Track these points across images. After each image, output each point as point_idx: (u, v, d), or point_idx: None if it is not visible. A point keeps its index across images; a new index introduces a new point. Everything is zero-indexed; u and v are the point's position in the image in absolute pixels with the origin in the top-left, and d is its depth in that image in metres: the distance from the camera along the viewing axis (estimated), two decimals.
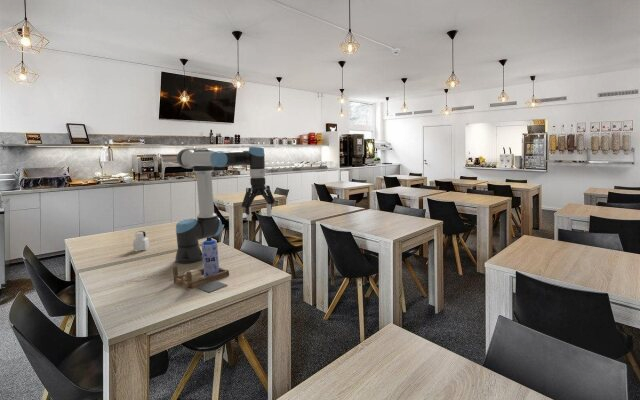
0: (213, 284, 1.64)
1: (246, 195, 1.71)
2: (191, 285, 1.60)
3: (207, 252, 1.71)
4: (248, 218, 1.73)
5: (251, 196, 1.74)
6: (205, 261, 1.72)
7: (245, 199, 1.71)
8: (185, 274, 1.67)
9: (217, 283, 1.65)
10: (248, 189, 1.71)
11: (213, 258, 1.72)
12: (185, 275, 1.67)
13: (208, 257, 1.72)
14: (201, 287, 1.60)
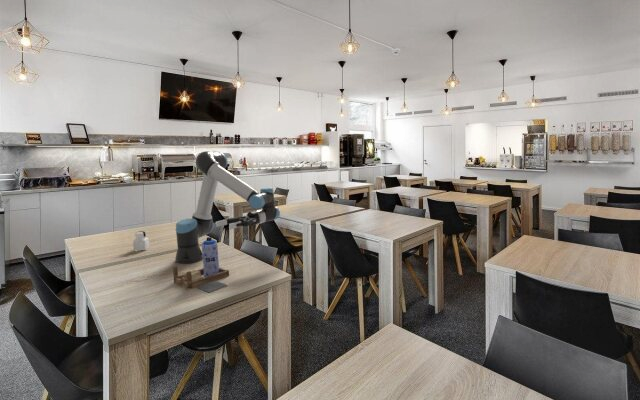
0: (213, 284, 1.64)
1: (251, 221, 1.84)
2: (191, 285, 1.60)
3: (207, 252, 1.71)
4: (232, 226, 1.76)
5: (246, 221, 1.86)
6: (205, 261, 1.72)
7: (250, 223, 1.82)
8: (184, 274, 1.67)
9: (217, 283, 1.65)
10: (255, 221, 1.87)
11: (213, 258, 1.72)
12: (184, 275, 1.67)
13: (208, 257, 1.72)
14: (201, 287, 1.60)
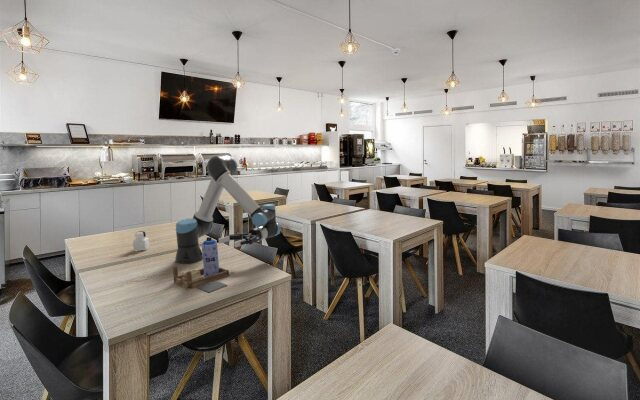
0: (213, 284, 1.64)
1: (255, 239, 1.87)
2: (191, 285, 1.60)
3: (207, 252, 1.71)
4: (236, 244, 1.78)
5: (250, 238, 1.88)
6: (205, 261, 1.72)
7: (253, 240, 1.85)
8: (184, 274, 1.67)
9: (217, 283, 1.65)
10: (258, 238, 1.90)
11: (213, 258, 1.72)
12: (184, 275, 1.67)
13: (208, 257, 1.72)
14: (201, 287, 1.60)
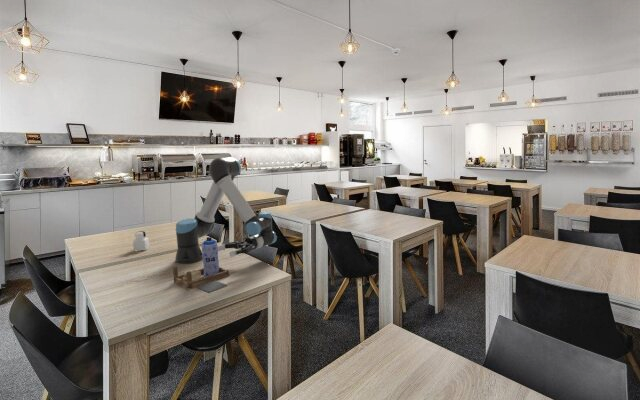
0: (213, 284, 1.64)
1: (250, 248, 1.85)
2: (191, 285, 1.60)
3: (207, 252, 1.71)
4: (232, 253, 1.76)
5: (245, 247, 1.86)
6: (205, 261, 1.72)
7: (249, 249, 1.83)
8: (184, 274, 1.67)
9: (217, 283, 1.65)
10: (253, 247, 1.88)
11: (213, 258, 1.72)
12: (185, 275, 1.67)
13: (208, 257, 1.72)
14: (201, 287, 1.60)
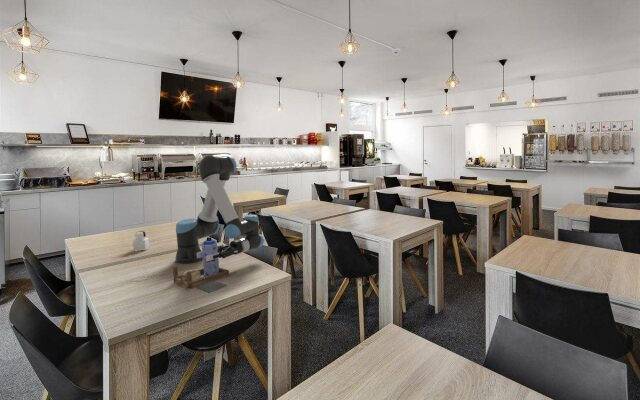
0: (213, 284, 1.64)
1: (231, 252, 1.77)
2: (191, 285, 1.60)
3: (207, 252, 1.71)
4: (208, 258, 1.69)
5: (227, 251, 1.79)
6: (205, 261, 1.72)
7: (228, 254, 1.75)
8: (184, 275, 1.66)
9: (217, 283, 1.65)
10: (236, 252, 1.80)
11: None
12: (184, 275, 1.66)
13: None
14: (201, 287, 1.60)
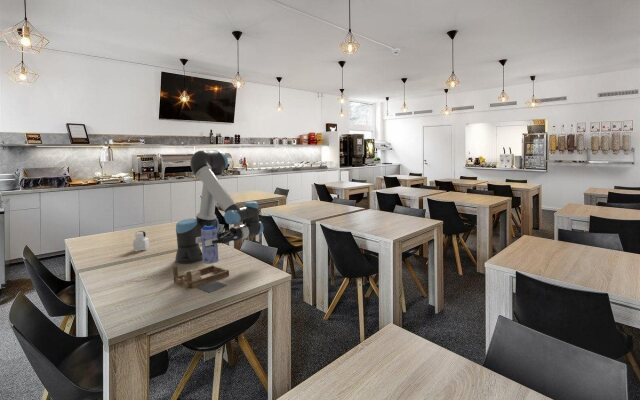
0: (213, 284, 1.64)
1: (231, 238, 1.76)
2: (191, 285, 1.60)
3: (206, 237, 1.70)
4: (207, 243, 1.68)
5: None
6: (204, 246, 1.71)
7: (228, 240, 1.74)
8: (184, 274, 1.67)
9: (217, 283, 1.65)
10: (236, 238, 1.78)
11: None
12: (184, 275, 1.67)
13: None
14: (201, 287, 1.60)
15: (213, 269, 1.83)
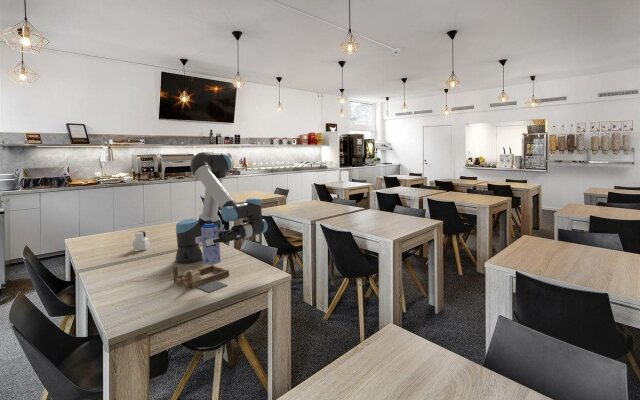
0: (213, 284, 1.64)
1: (233, 237, 1.63)
2: (191, 285, 1.60)
3: (207, 236, 1.57)
4: (208, 242, 1.55)
5: None
6: (205, 246, 1.58)
7: (230, 239, 1.61)
8: (184, 275, 1.66)
9: (217, 283, 1.65)
10: (239, 237, 1.65)
11: None
12: (184, 275, 1.66)
13: None
14: (201, 287, 1.60)
15: (213, 269, 1.83)
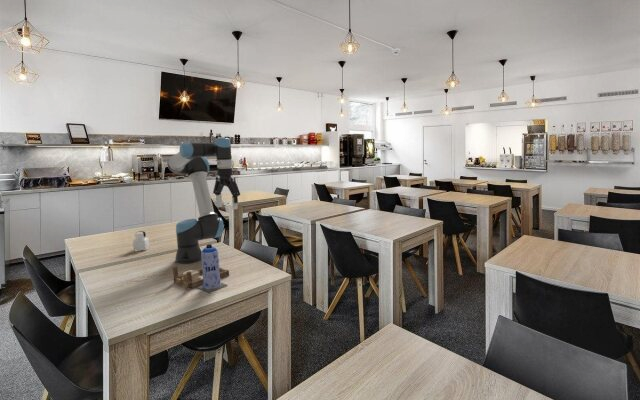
0: None
1: None
2: (191, 285, 1.60)
3: (207, 261, 1.56)
4: None
5: None
6: (205, 270, 1.58)
7: None
8: (183, 275, 1.66)
9: None
10: None
11: (213, 267, 1.58)
12: (183, 275, 1.66)
13: (208, 266, 1.57)
14: (201, 287, 1.60)
15: None
